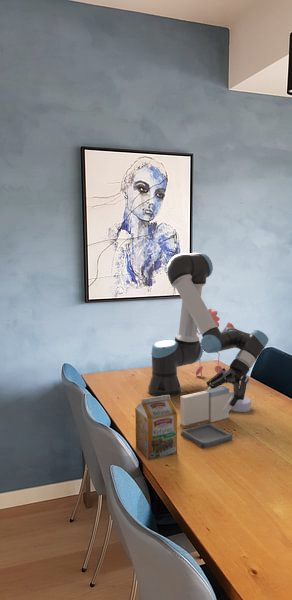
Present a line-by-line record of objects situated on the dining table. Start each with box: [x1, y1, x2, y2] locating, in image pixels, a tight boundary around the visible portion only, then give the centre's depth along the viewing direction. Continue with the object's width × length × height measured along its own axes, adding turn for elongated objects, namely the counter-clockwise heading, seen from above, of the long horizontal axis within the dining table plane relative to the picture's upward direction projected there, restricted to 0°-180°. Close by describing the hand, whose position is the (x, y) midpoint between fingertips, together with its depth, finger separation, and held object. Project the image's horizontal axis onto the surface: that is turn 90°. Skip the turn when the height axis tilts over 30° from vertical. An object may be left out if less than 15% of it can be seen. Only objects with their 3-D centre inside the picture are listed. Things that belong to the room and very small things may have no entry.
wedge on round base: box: [229, 391, 252, 413], centre depth 199 cm, size 9×7×13 cm
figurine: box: [188, 308, 235, 379], centre depth 246 cm, size 15×26×35 cm, turn 96°
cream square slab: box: [179, 390, 210, 430], centre depth 182 cm, size 3×12×12 cm, turn 122°
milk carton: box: [134, 395, 178, 461], centre depth 159 cm, size 11×10×19 cm
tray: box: [180, 422, 233, 450], centre depth 170 cm, size 13×13×2 cm
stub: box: [204, 385, 230, 423], centre depth 187 cm, size 4×9×12 cm, turn 122°
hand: (213, 406), depth 186 cm, fingers open, 13 cm apart
